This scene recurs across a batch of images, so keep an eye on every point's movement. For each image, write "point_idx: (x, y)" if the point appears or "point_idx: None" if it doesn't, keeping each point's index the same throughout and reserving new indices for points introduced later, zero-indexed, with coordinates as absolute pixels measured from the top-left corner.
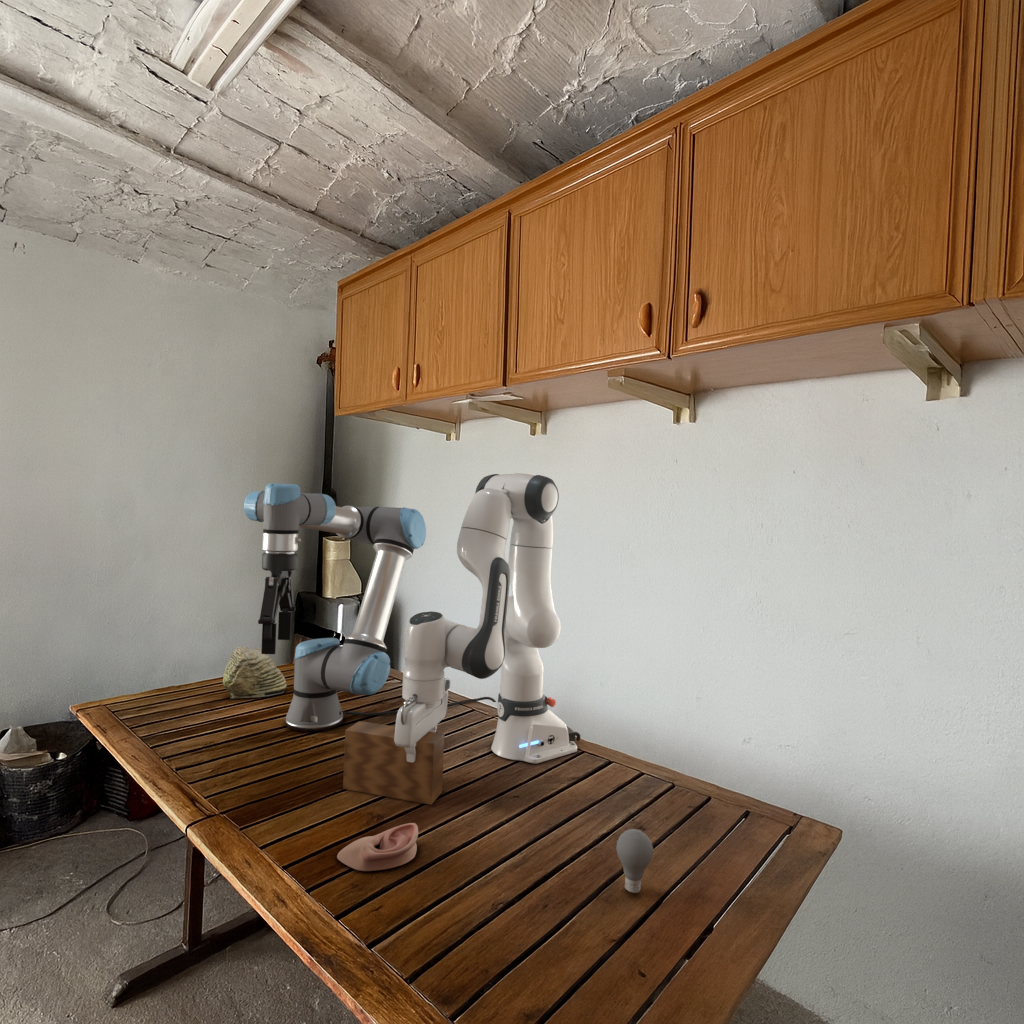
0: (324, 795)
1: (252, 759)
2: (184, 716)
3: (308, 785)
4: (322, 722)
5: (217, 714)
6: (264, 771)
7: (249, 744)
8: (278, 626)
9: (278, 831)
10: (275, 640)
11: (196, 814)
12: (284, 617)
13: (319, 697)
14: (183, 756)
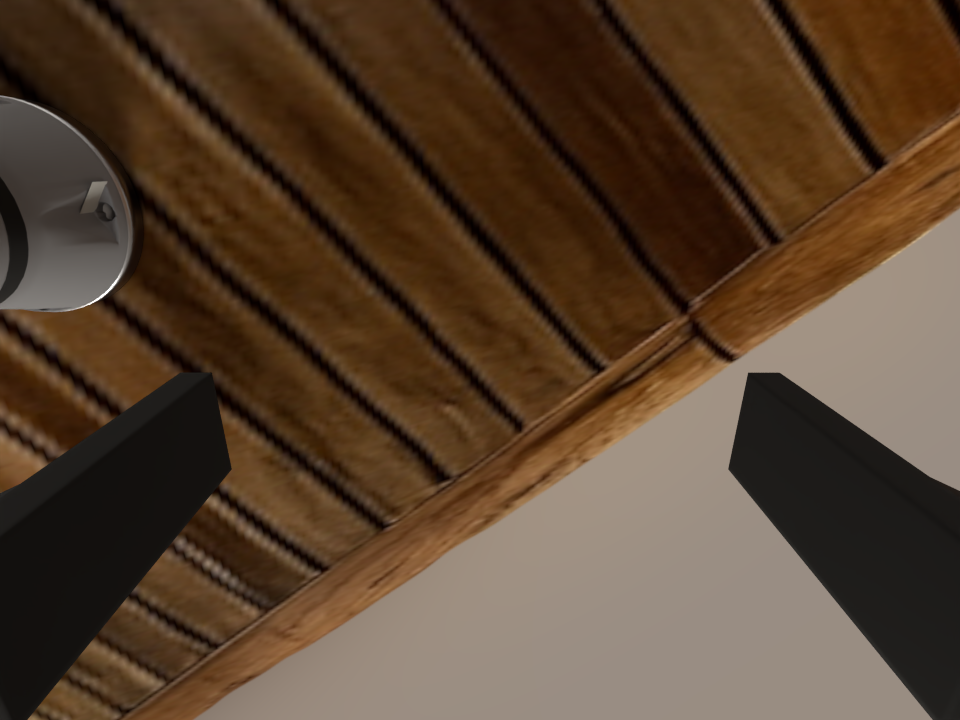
0: (622, 51)
1: (375, 327)
2: None
3: (550, 119)
4: (95, 162)
5: None
6: (453, 273)
7: (271, 365)
8: (160, 555)
9: (810, 143)
10: (843, 431)
11: (683, 362)
12: (57, 590)
13: (4, 185)
14: (368, 491)
